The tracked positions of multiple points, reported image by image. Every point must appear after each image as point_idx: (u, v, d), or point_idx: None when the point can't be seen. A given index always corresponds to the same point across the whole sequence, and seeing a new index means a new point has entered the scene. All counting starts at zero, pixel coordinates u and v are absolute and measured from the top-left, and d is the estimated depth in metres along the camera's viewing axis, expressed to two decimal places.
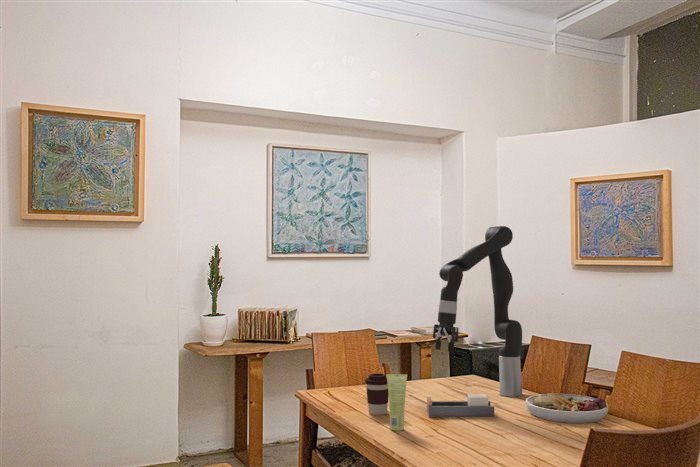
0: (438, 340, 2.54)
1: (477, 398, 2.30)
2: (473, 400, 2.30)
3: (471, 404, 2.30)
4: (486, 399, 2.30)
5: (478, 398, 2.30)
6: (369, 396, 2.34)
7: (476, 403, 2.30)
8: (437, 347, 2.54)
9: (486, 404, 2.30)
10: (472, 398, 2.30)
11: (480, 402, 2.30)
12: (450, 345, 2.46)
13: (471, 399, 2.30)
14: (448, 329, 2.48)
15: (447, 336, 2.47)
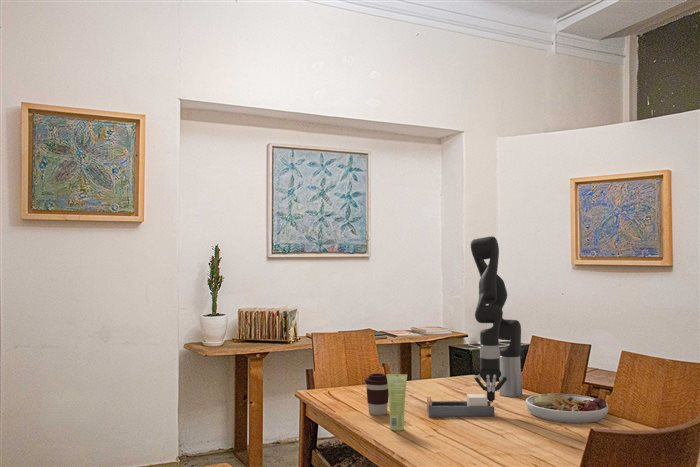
0: None
1: (476, 398, 2.30)
2: (472, 400, 2.30)
3: (470, 404, 2.30)
4: (485, 399, 2.30)
5: (477, 398, 2.30)
6: (369, 396, 2.34)
7: (475, 403, 2.30)
8: None
9: (485, 404, 2.30)
10: (471, 398, 2.30)
11: (479, 402, 2.30)
12: (493, 394, 2.32)
13: (470, 399, 2.30)
14: (497, 378, 2.32)
15: (494, 385, 2.31)
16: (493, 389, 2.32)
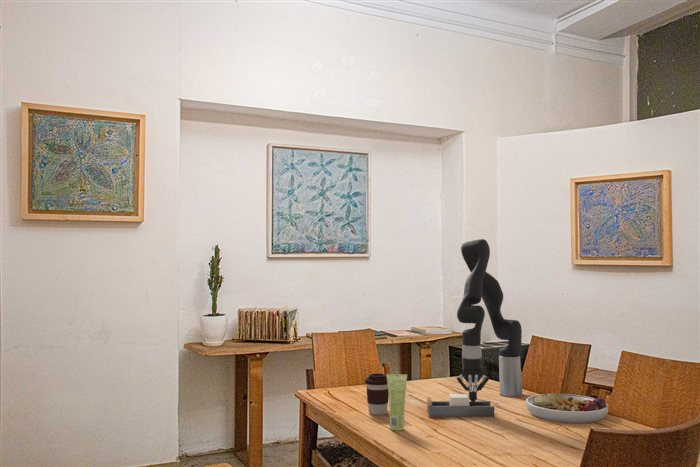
0: None
1: (458, 398, 2.31)
2: (454, 400, 2.31)
3: (452, 404, 2.31)
4: (467, 399, 2.30)
5: (459, 398, 2.31)
6: (369, 396, 2.34)
7: (457, 403, 2.30)
8: None
9: (467, 404, 2.30)
10: (453, 398, 2.31)
11: (461, 402, 2.30)
12: (475, 394, 2.32)
13: (452, 399, 2.31)
14: (479, 378, 2.32)
15: (476, 385, 2.32)
16: (475, 389, 2.32)
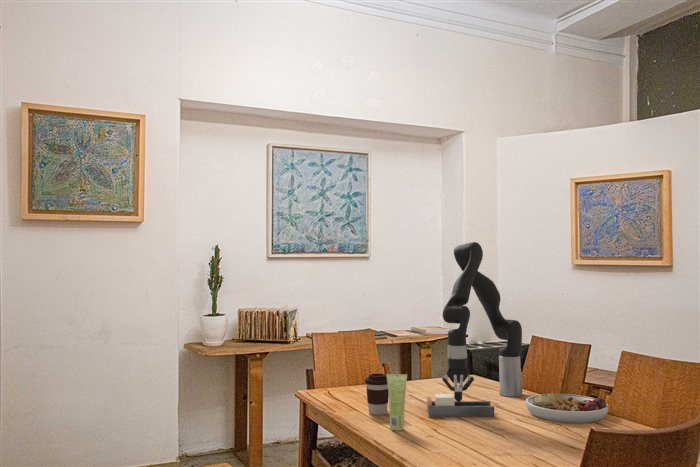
0: (457, 391, 2.33)
1: (443, 398, 2.31)
2: (439, 400, 2.31)
3: (437, 404, 2.31)
4: (452, 399, 2.31)
5: (444, 398, 2.31)
6: (369, 396, 2.34)
7: (442, 403, 2.31)
8: None
9: (452, 404, 2.30)
10: (438, 398, 2.31)
11: (446, 402, 2.31)
12: (461, 394, 2.33)
13: (437, 399, 2.31)
14: (465, 378, 2.32)
15: (461, 385, 2.32)
16: (460, 389, 2.32)
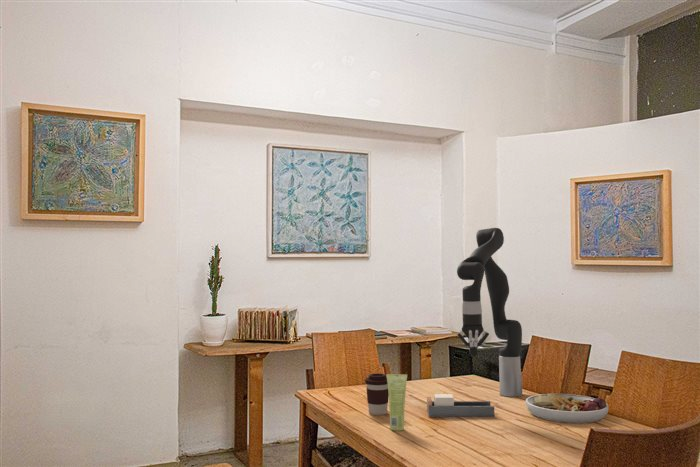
0: (472, 346, 2.37)
1: (443, 398, 2.31)
2: (439, 400, 2.31)
3: (437, 404, 2.31)
4: (452, 399, 2.31)
5: (444, 398, 2.31)
6: (369, 396, 2.34)
7: (442, 403, 2.31)
8: None
9: (452, 404, 2.31)
10: (438, 398, 2.31)
11: (446, 402, 2.31)
12: (476, 349, 2.36)
13: (437, 399, 2.31)
14: (480, 334, 2.36)
15: (476, 340, 2.35)
16: (475, 344, 2.36)
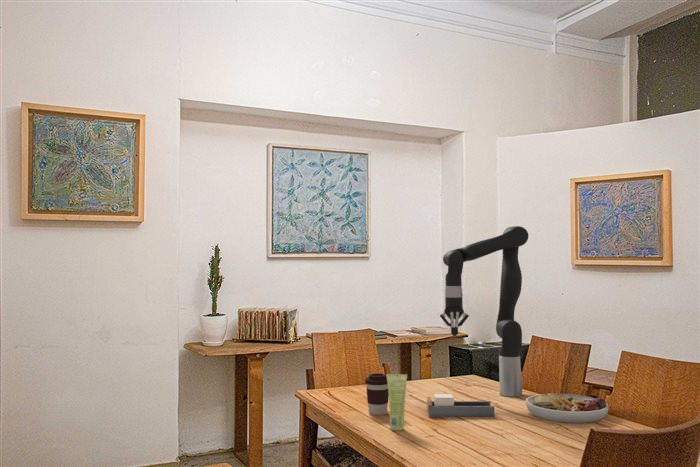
0: (454, 327, 2.62)
1: (443, 398, 2.31)
2: (439, 400, 2.31)
3: (437, 404, 2.31)
4: (452, 399, 2.31)
5: (444, 398, 2.31)
6: (369, 396, 2.34)
7: (442, 403, 2.31)
8: None
9: (452, 404, 2.31)
10: (438, 398, 2.31)
11: (446, 402, 2.31)
12: (457, 329, 2.62)
13: (437, 399, 2.31)
14: (460, 315, 2.61)
15: (457, 321, 2.61)
16: (456, 325, 2.61)
